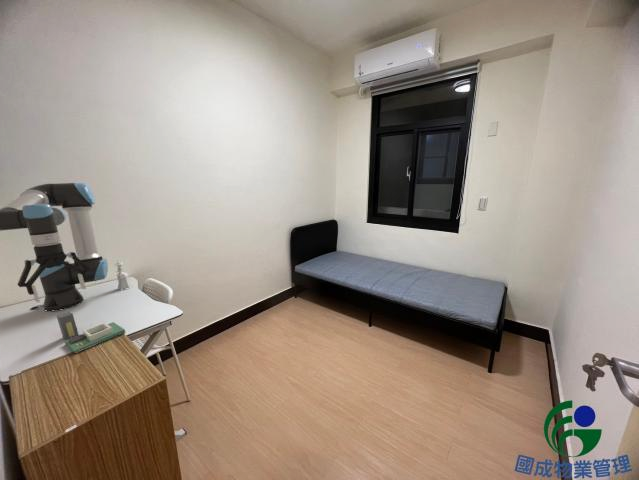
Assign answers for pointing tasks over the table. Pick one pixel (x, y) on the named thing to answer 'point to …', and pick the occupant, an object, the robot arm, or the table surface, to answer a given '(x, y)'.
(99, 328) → the board
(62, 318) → the plug
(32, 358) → the table surface
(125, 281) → the figurine
